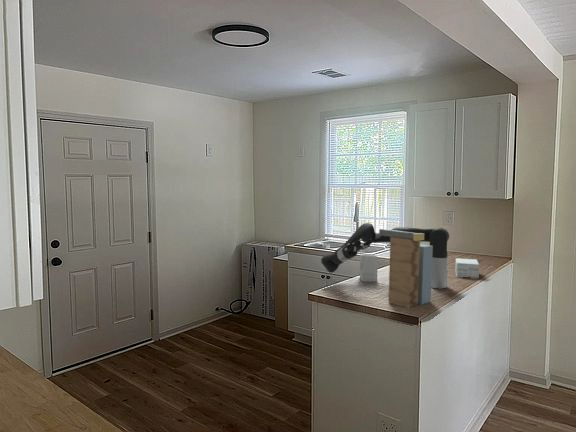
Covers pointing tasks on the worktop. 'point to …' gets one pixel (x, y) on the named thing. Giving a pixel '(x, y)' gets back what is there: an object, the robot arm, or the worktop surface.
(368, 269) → the supplement box
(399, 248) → the brown wooden tall block
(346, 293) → the worktop surface
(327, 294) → the worktop surface
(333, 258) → the robot arm
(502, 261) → the worktop surface
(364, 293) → the worktop surface
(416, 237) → the grey and tan bar
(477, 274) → the supplement box
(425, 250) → the light blue tall block
